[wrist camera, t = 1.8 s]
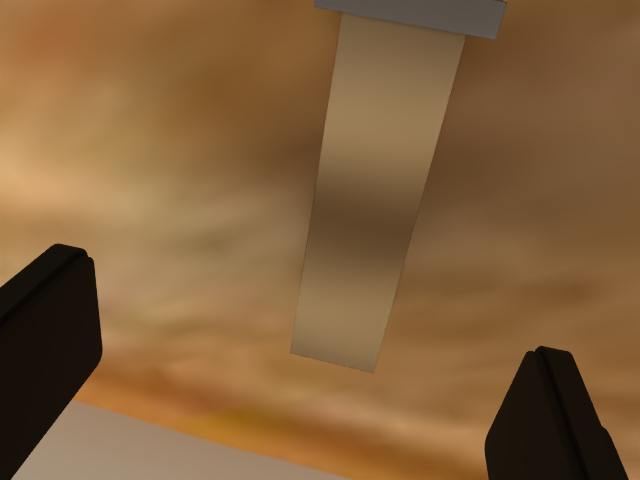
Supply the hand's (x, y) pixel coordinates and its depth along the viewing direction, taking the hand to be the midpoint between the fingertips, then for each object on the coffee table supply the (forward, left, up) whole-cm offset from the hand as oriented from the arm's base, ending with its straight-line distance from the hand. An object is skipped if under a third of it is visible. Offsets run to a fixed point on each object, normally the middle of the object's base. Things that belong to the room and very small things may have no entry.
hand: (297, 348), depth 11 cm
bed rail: (-1, 0, -10) cm, 10 cm away
